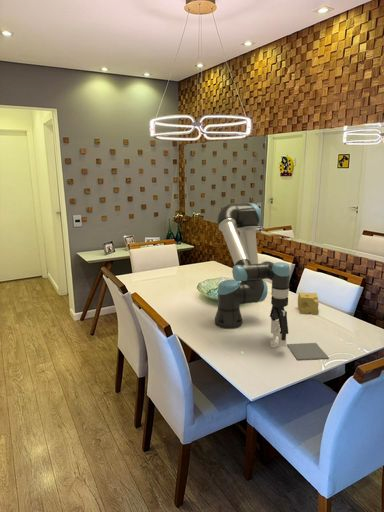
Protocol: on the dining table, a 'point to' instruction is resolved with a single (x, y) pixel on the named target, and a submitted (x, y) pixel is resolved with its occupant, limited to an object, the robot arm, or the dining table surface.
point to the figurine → (275, 333)
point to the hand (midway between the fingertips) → (278, 339)
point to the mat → (307, 351)
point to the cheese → (308, 303)
